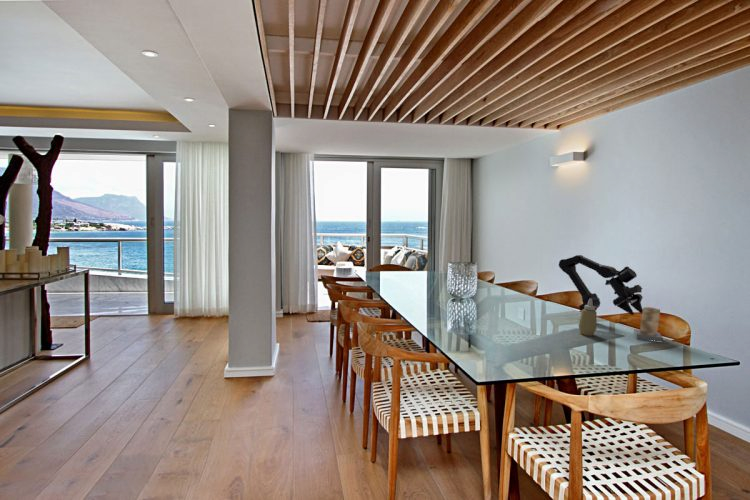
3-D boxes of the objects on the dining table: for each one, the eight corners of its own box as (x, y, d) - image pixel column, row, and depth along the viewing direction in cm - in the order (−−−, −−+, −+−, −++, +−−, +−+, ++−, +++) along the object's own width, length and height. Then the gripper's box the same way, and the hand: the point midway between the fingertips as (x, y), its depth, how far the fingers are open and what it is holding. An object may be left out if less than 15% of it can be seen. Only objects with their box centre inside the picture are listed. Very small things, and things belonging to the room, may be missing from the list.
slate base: (636, 339, 221) (637, 334, 221) (633, 333, 231) (634, 328, 231) (662, 343, 217) (663, 338, 216) (658, 337, 227) (659, 332, 226)
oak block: (639, 332, 224) (642, 307, 223) (645, 331, 227) (648, 306, 226) (651, 335, 220) (654, 310, 218) (656, 334, 223) (660, 309, 221)
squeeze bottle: (595, 333, 225) (599, 298, 223) (595, 337, 218) (600, 301, 216) (577, 330, 229) (581, 296, 227) (577, 334, 222) (581, 298, 220)
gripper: (622, 280, 225) (641, 307, 217) (641, 278, 235) (660, 304, 227) (604, 291, 232) (623, 318, 224) (624, 290, 242) (642, 315, 235)
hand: (637, 314), depth 227 cm, fingers open, 9 cm apart
